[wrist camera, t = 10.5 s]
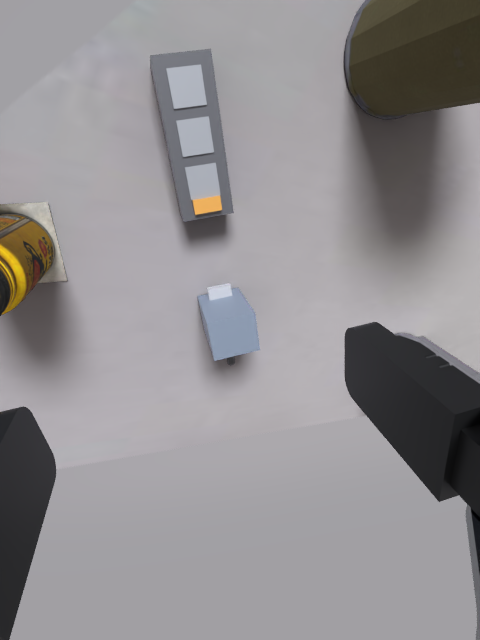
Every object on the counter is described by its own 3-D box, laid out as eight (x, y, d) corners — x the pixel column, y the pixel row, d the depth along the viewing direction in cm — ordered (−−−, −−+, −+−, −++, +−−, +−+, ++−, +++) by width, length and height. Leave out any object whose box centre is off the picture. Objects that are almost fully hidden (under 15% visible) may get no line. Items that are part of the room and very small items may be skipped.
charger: (236, 277, 38) (253, 300, 32) (247, 355, 42) (265, 390, 36) (195, 285, 37) (204, 311, 31) (211, 364, 42) (222, 401, 35)
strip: (204, 60, 29) (211, 47, 26) (226, 207, 35) (234, 213, 31) (150, 66, 29) (150, 53, 25) (180, 215, 34) (184, 222, 31)
